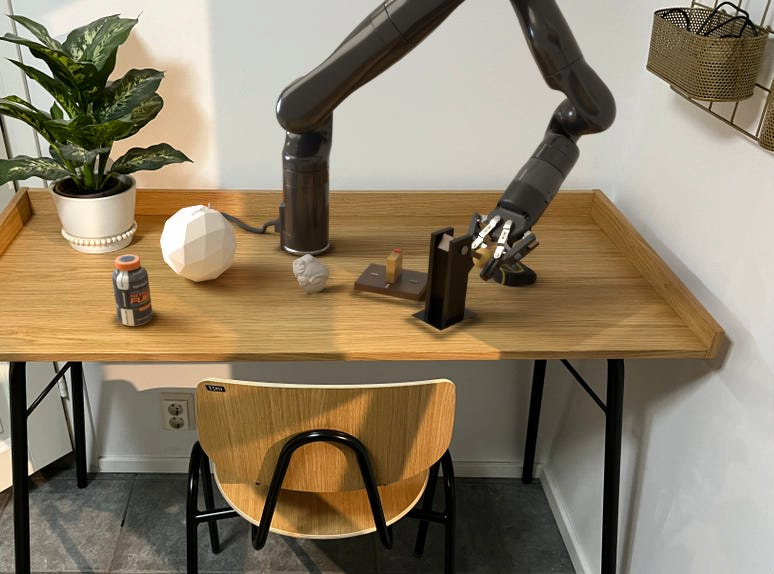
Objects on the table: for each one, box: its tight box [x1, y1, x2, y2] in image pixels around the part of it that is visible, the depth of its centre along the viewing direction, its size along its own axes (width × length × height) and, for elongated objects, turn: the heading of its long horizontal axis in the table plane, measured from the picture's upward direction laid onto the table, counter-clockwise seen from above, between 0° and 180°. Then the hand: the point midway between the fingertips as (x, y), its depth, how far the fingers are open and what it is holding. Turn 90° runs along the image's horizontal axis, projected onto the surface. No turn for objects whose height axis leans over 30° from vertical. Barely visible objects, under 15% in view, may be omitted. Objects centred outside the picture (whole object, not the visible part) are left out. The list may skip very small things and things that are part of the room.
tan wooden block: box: [385, 248, 404, 284], centre depth 139 cm, size 5×2×5 cm, turn 155°
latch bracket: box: [411, 225, 478, 332], centre depth 127 cm, size 9×7×16 cm
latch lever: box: [438, 234, 494, 270], centre depth 128 cm, size 13×4×4 cm, turn 129°
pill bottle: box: [111, 254, 154, 327], centre depth 130 cm, size 6×6×11 cm
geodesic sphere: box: [159, 204, 237, 283], centre depth 144 cm, size 15×14×14 cm
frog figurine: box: [292, 254, 330, 295], centre depth 139 cm, size 6×7×7 cm
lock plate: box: [353, 262, 428, 302], centre depth 140 cm, size 12×9×3 cm
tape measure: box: [492, 260, 538, 288], centre depth 142 cm, size 7×7×4 cm
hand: (473, 274), depth 131 cm, fingers closed on latch lever, 3 cm apart
